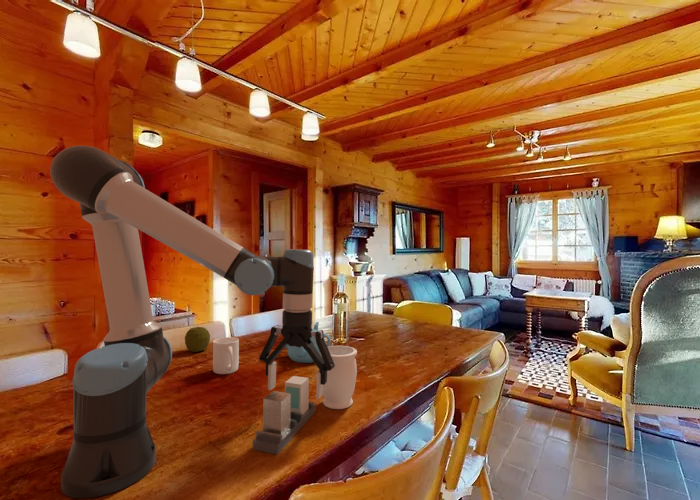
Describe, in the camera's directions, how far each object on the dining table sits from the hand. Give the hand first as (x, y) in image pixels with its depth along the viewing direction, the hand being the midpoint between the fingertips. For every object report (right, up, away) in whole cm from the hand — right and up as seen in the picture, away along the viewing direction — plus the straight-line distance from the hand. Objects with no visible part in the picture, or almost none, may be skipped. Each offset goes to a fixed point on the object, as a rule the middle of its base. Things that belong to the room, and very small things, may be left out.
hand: (295, 392), depth 88 cm
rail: (-1, -7, -5) cm, 8 cm away
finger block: (0, -5, 0) cm, 5 cm away
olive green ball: (-50, -6, +56) cm, 75 cm away
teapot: (-4, -7, +50) cm, 50 cm away
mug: (-29, -7, +33) cm, 44 cm away
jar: (+11, -7, +9) cm, 16 cm away
